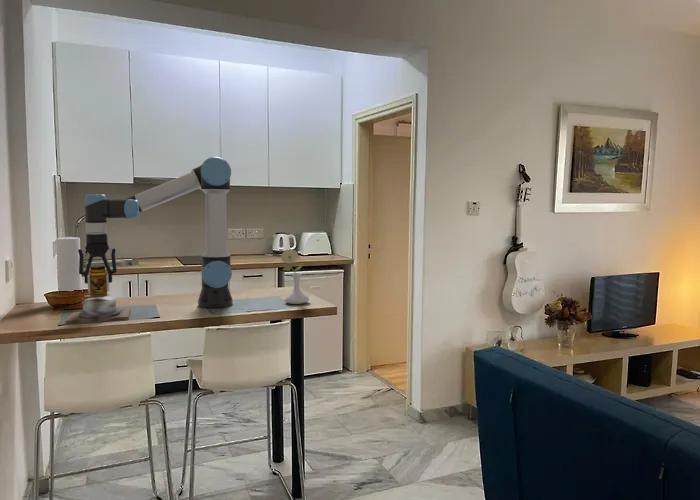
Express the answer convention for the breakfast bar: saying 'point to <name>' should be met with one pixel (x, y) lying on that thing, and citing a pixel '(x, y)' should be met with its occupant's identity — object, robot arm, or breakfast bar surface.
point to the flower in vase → (296, 294)
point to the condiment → (98, 282)
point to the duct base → (80, 320)
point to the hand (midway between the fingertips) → (99, 291)
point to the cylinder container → (68, 264)
